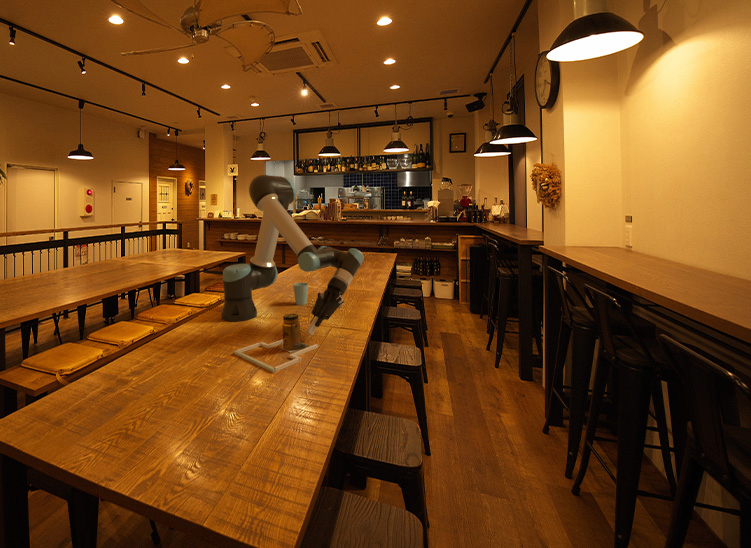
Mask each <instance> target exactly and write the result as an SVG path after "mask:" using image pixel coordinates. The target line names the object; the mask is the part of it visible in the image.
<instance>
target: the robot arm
mask: <svg viewBox="0 0 751 548" xmlns="http://www.w3.org/2000/svg"><path fill="white" fill-rule="evenodd" d="M248 193H249V197H250V200H251V202H252V203H253V205H254V206H255V207H256V208H257V210H258V211H260V212H263V213H262V217H261V222H260V223H261V224H260V226H259V227H260V228H259V231H258V237H257V242H256V247H255V251H254V256H251V257H250V259H249V262H248V263H236V264H231V265H228V266H225V268H223V270H222V283H223V285H222V286H223V295H224V297H223V298H224V302H223V305H222V309H221V313H220V314H221V320H223V319H224V320H223V321H225V320H228V321H227V322H243V321H248V320H251V319H254V318H256V317H257V315H258V310H257V307H256V305H255V303H254V300H253V291H256V290H260V289H262V288H263V289H264V288H267V287H270V286H272V285H273V284H274V283H275V282H276V281H277V278H278V273H279V272H278V269H277V266H276V262H275V261H274V256H275V252H276V248H277V243H278V239H279V235H281V236H282V238H283V240H285V242H286V243H287V244H288V246H289V247H290V249H292V250H293V251H292V252H294V254H296V256H297V257H298V258H297V263H298V268H299V269H300V270H301V271H303V272H305V273H306V272H307V273H309V272H315V271H317V270H321V269H324V268H329V267H332V268H333V269H334V268H335V269H336V270H335V271H334V272H333V273H334V274H333V275H332V277H331V278H330V279H329V281H328V283H327V287H326V289H325V290H324V291H323V292H322V293H321V292H320V291H319V292H318V293H317V297H316V300H315V302H314V303H315V304H314V305H313V308H312V310H311V314H312V315H313V318H311V321H310V322H309V326H308V327H307V328H306V330H305V331H306V332H307V333H308V334H309V335H311V336H313V335H314V334H315V332H316V331H317V329H318V328H319V327H320V326H321V324H322V322H323V321H324V320H326V321H328V320H329V319H330V318H331V317H332V315H333V314H335V312H336V310H337V309H339V308H338V307H339V306H340V305H341V304H342V303H343V304H344V303H345V300H344V299H343V297H342V296H343V295H345V293H346V291H347V289H348V287H349V285H350V284H351V282H352V280H353V278H355V275H356V274H357V272H358V271H359V270H360V267H361V266H362V264H363V261H364V259H365V256H364V254H363V253H362V251H360V250H358V249H357V248H352V247H351V248H349V249H348V250H347V252H346V251H342V250H339V249H336V248H333V247H331V246H326V245H321V246H320V247H318V249H317V248H316V247H315V246H314V244H313V243H312V242H311V241H310V240H309V238H308V236H307V235H306V234H305V233H304V232H303V231H302V229H301V227H300V226H299V225H298V224H297V223H296V221H295V220H294V219H293V218H292V216H291V215H290V214H289V212H288V211H289V206H290V204H292V203H293V202H295V200H296V198H297V195H298V194H297V193H298V192H297V187H296V186H295V183H294V181H292V180H291V179H290V178H287V177H285V176H282V175H281V176H279V175H278V176H276V175H268V174H261V175H257V176H255V177H254V178H252V179H251V181H250V183H249V186H248ZM341 297H342V298H341Z"/></svg>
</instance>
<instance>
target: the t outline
mask: <svg viewBox="0 0 751 548" xmlns="http://www.w3.org/2000/svg"><path fill="white" fill-rule="evenodd" d="M281 343H282V344H283V338H281V339H280V340H276V341H274V342H270V343H266V342H263V341H260V342H257V343H254V344H251V345H248V346H245V347H241V348H238V349H237V350H234V351H233V354H234V355H236V356H238V357H240V358H242V359H244V360H245V361H248V362H250V363H253V364H254V365H256V366H258V367H261V368H263V369H264V370H266V371H268V372H271V373H274V374H275V373H277V372H279V371H281V370H282V369H286V368H287V367H290V366H292V365H294V364H296V363H297V364H298V363H300V362H302V357H301V356H300V355H303V354H306V353H307V352H311V351H312V350H315V349H318V347H319V344H317V343H315V344H313V345H310V346H307V347H304V348H302V349H300V350H297V351H294V352H291V353H290V354H289V359H291V360H288V361H286V362H284V363H282V364H278V365H277V366H275V367H274V366H271V365H269V364H267V363H265V362H263V361H261V360H258V359H256V358H254V357H252V356H250V355H248V354H245V353H244V352H246V351H250V350H252V349H255V348H259V347H263V348H265V349H270V348H273V347H275V346H278V345H281Z"/></svg>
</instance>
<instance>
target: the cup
mask: <svg viewBox="0 0 751 548" xmlns="http://www.w3.org/2000/svg"><path fill="white" fill-rule="evenodd" d="M292 288H293V292H294V294H293V295H294V300H295V305H296V306H304V305H307V304H308V296H309V295H308V293H309V283H307V282H295V283H293V286H292Z"/></svg>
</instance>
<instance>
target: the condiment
mask: <svg viewBox="0 0 751 548" xmlns="http://www.w3.org/2000/svg"><path fill="white" fill-rule="evenodd" d="M299 317H300V316H299V315H298V314H297V313H287V314H284V315H283V317H282V318H283V321H282V339H283V343H282V346H284V347H281V346H280V347H279V346H278V348H279V349H281V350H283V351H286V352H289V353H290V354H292V353H295V352H297V351H300V350H302V349H305V348H307V347H310V346H311V345H309V344H306V343H304V342H301V322H300V319H299Z"/></svg>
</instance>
